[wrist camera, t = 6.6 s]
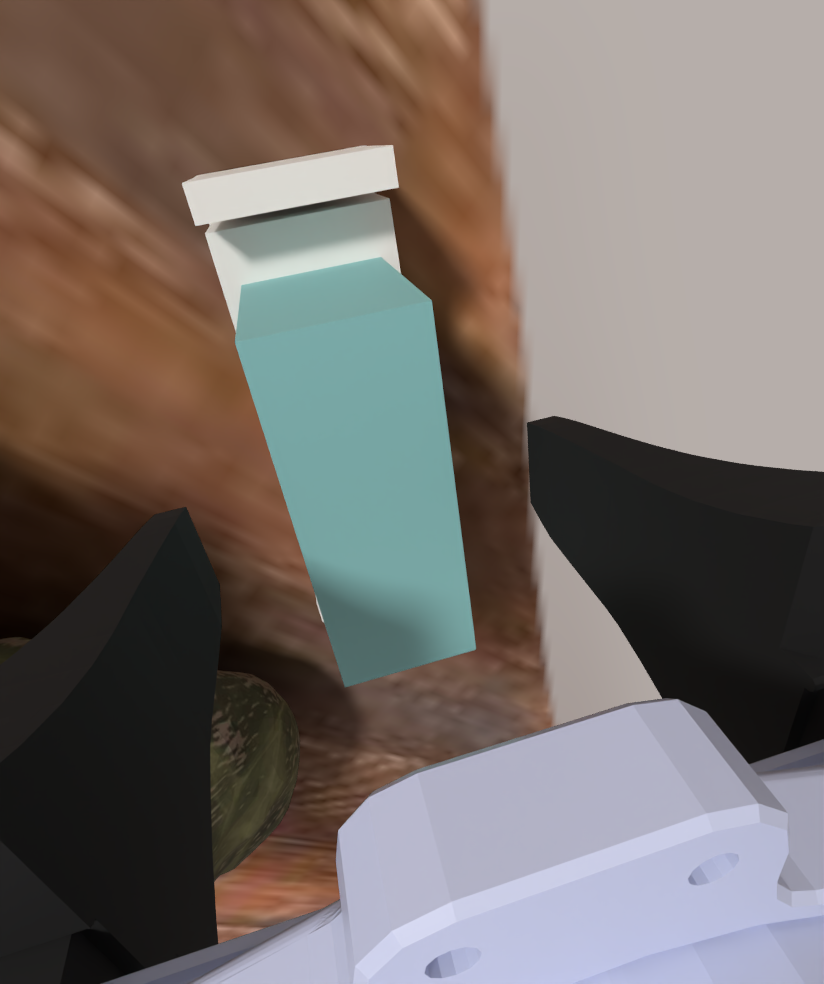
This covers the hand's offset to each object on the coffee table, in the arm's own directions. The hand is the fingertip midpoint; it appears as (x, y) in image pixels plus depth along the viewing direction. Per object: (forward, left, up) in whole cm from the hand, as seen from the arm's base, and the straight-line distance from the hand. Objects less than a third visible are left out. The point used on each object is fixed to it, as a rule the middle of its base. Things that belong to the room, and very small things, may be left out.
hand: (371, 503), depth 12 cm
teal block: (0, -1, -5) cm, 5 cm away
